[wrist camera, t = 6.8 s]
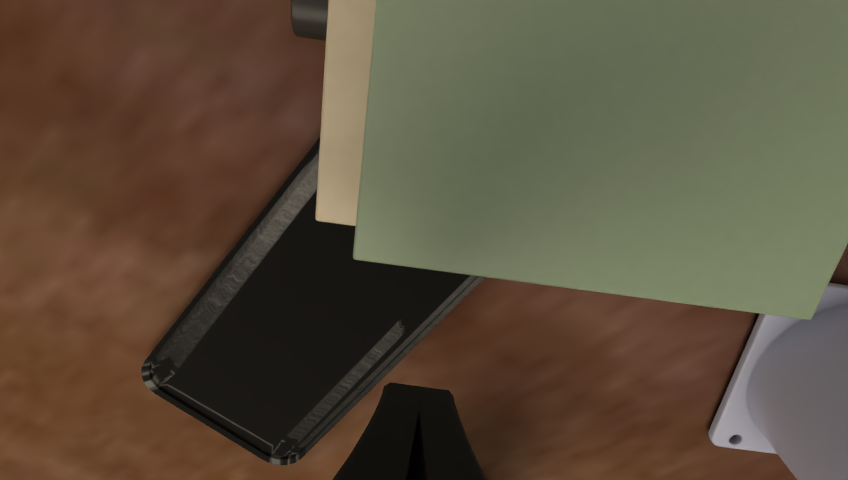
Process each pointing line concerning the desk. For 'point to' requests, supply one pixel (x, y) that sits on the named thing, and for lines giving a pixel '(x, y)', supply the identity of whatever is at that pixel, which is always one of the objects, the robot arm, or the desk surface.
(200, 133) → the desk surface
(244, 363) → the phone
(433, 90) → the cabinet
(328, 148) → the drawer
